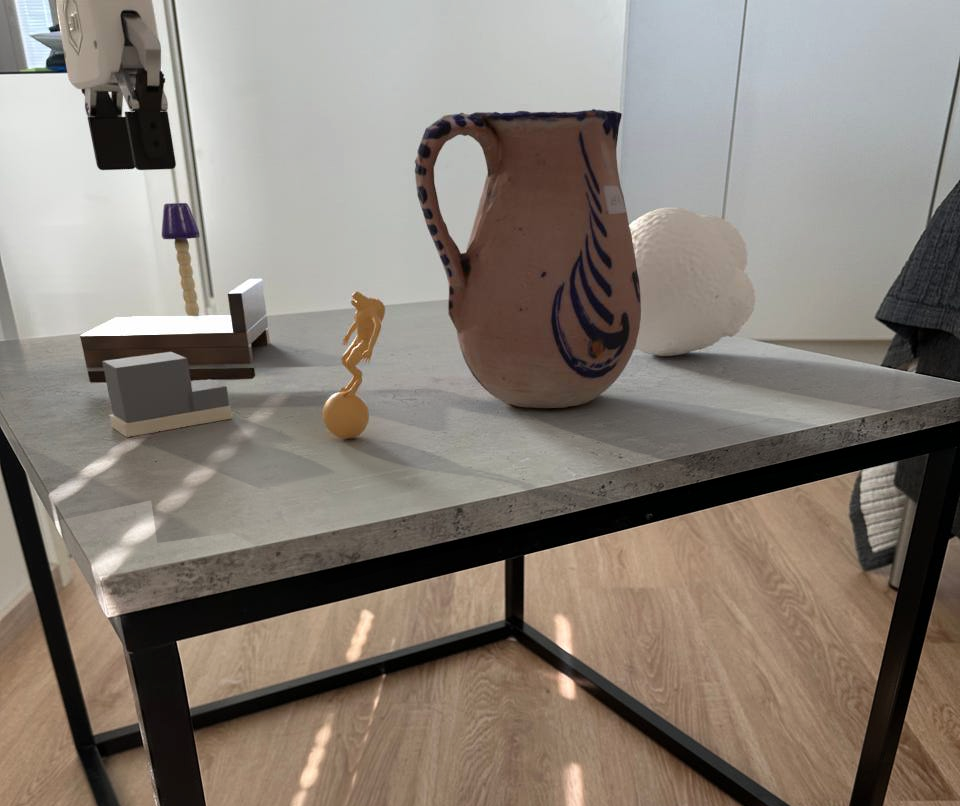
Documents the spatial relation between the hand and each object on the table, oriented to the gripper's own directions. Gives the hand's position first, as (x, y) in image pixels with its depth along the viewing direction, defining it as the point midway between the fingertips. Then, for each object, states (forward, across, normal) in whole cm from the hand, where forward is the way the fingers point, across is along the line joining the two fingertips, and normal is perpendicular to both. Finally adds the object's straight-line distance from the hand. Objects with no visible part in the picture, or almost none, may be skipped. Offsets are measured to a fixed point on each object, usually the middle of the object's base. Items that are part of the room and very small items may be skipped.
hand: (135, 169), depth 77 cm
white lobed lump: (+22, +8, +57) cm, 62 cm away
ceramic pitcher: (+22, +16, +30) cm, 40 cm away
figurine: (+22, +15, +10) cm, 28 cm away
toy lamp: (+21, -39, +17) cm, 47 cm away
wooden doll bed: (+21, -22, +9) cm, 32 cm away
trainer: (+21, 0, -1) cm, 21 cm away
